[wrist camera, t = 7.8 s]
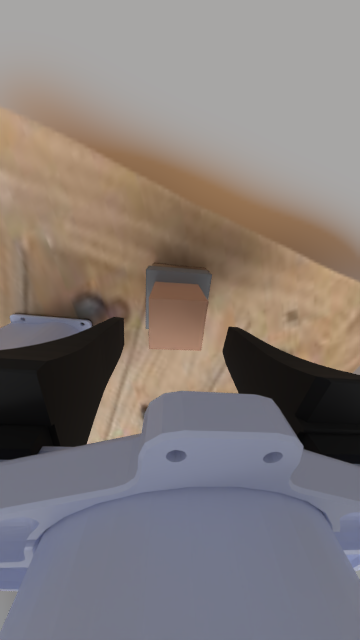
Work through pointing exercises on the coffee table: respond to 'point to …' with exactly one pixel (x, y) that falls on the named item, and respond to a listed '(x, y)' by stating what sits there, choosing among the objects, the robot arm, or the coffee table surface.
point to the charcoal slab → (175, 280)
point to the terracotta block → (176, 316)
